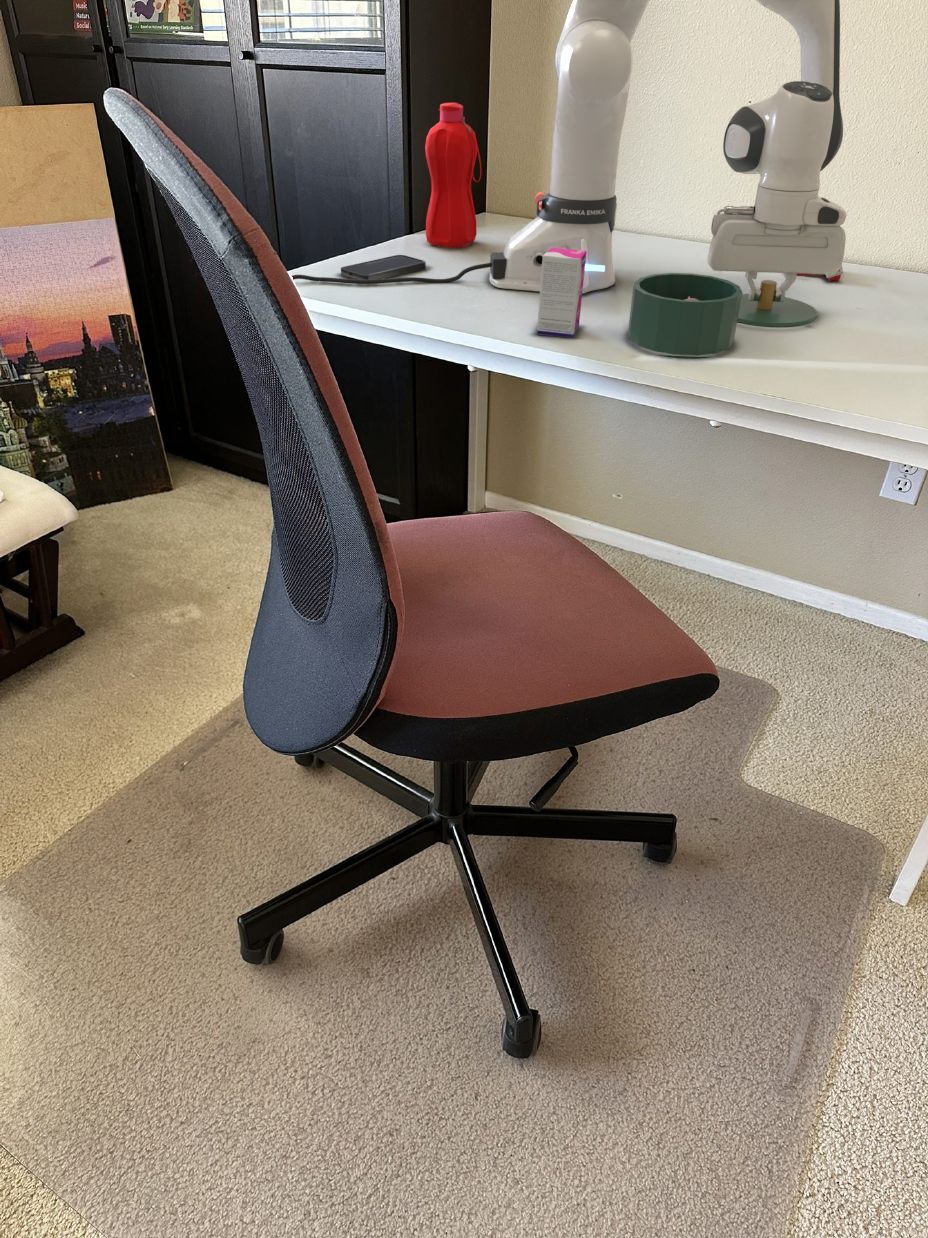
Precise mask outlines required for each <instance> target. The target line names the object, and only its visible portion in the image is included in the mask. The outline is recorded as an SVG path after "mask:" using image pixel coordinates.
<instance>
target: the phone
mask: <svg viewBox="0 0 928 1238" xmlns="http://www.w3.org/2000/svg"><path fill="white" fill-rule="evenodd" d="M426 263H427V261H426V260H424V259H420V258H417V257H412V256H409V255H405V254H396V255H390V256H386V257H382V258H376V259H373V260H368V261H363V262H359V263H355V264H350V265H345V266H344V265H343V266H341V267H340V275H341V276H343V277H346V278H348V279H357V280H374V279H389V278H393V277H396V276H400V275H404V274H409V273H413V272H417V271H421V270H426V268H427V264H426Z"/></svg>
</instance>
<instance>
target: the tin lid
mask: <svg viewBox="0 0 928 1238" xmlns="http://www.w3.org/2000/svg"><path fill="white" fill-rule="evenodd" d="M777 285H778V282H777V281H775V280H771V279H763V280H761V282H760V287H759V288H760V289H761V295H760V296H759V297H760V300H759V301H749V299H748V297H749V293H742V298H741V303H740V309H739V314H738V319H737V323H741V324H744V325H745V324H746V325H751V326H758V327H770V328H771V327H772V328H781V327H782V328H789V327H797V326H798V327H799V326H802V325H807V324H810V323H812V322H813V321H815V319H816V318H817V314H818V313H817V312H818V311H817V310H816V309H815V307H813V306H811V305H810V304H809V303H806V302H804V301H801V300H798V299H794V298H791V297H786V296H785V297H784V301H783V302H774V301H773V300H774V295H775V291H776V288H777Z"/></svg>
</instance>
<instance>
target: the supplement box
mask: <svg viewBox="0 0 928 1238" xmlns="http://www.w3.org/2000/svg"><path fill="white" fill-rule="evenodd" d="M586 253H587V252H586V251H582V250H570V249H560V248H550V249H549V250H548V251H547V252H546V253H545V254H544V255H543V260H542V273H541V286H540V291H539V299H538V300H539V301H538V314H537V325H536V335H537V336H538V335H539V336H547V337H548V336H549V337H558V338H559V337H560V338H568V339H569V338H570V339H572V338H573V337H574V335H575V334H576V331H577V330H578V329H579V327H580V320H581V310H582V299H583V294H582V291H583V282H584V272H585V262H586Z"/></svg>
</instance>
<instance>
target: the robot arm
mask: <svg viewBox="0 0 928 1238" xmlns="http://www.w3.org/2000/svg"><path fill="white" fill-rule="evenodd" d="M755 1H756V2H757V3H759V4H760V5H761V6H763V7H764V8H766V9H767V10H770V11H771V12H773V13H775V14H777V15H778V16H780V17H781V18H783V19H784V20H786V22H788V23H789V25H791V26H792V28H793V29H794V30H795V32H796V34H797V36H798V39H799V44H800V80H793V81H789V82H786V83H783V84H782V85H781V86H780V87H779V88H778V90H777V91H776V92H775V94H773V95H772V96H770V97H768V98H766V99H763V100H761V101H759V102H756V103H751V104H749V105H746V106H742V107H740V108H739V109H738V110H737V111H736V112H735V113H734V114H733V116H731V118H730V119H729V122H728V124H727V126H726V129H725V133H724V137H723V142H722V143H723V145H722V151H723V156H724V159H725V161H726V163H727V165H728V166H729V167H730V168H731V170H732V171H733V172H735V173H740V174H743V175H759V181H758V184H757V189H756V195H755V200H754V206H753V205H752V206H751V205H750V206H747V205H745V206H744V205H743V206H734V205H727V206H726V205H725V206H724V207H723V208H721V209H719V210H717V211H716V212H715V213H714V215H713V217H712V220H711V226H710V231H711V234H712V238H711V241H710V244H709V247H708V253H707V258H706V261H707V264H708V266H709V268H710V269H712V271H714V272H737V273H738V272H739V273H741V272H743V273H745V275H744V276H745V279H746V282H747V285H748V287H749V292H748V294H749V297H748V299H749V301H759V300H760V297H759V296H760V295H761V289H760V287H759V286H758V287H757V286H756V285H755V282H754V280H757V277H758V273H772V274H773V273H774V274H783V277H784V279H785V280H783V282H782V283H781V284H780V286H779V287H776V291H775V295H774V300H773V301H774V302H783V301H784V297H786V292H787V291H788V290H789V289H790V288H791V287H792V285H793V284H794V283H795V281H796V280H797V279H796V278H797V276H796V275H797V273H800V274H811V275H826V274H831V275H833V274H835V273H836V272H837V271H838V270H839V269H840V268H841V266H842V267H843V262H844V256H845V250H846V240H847V239H846V237H847V235H846V231H845V229H844V228H843V227H842V225H844V223H845V221H846V220H847V219H846V218H847V211H846V210H845V209H844V208H843V207H842V206H841V205H839V204H838V203H836V202H834V201H831V200H828V199H827V198H825V197H821V196H819V192H820V186H821V179H820V176H821V172H822V171H824V169H825V168H826V167H828V165H830V163H831V162H832V161H833V160H834V158H835V157H836V156H837V154H838V152H839V150H840V148H841V147H842V143H843V137H844V122H843V114H842V108H841V98H840V82H841V81H840V78H841V77H840V73H841V70H840V69H841V65H840V63H841V6H840V4H841V3H840V0H755ZM649 2H650V0H572V2H571V5H570V8H569V11H568V14H567V16H566V19H565V23H564V25H563V29H562V31H561V34H560V37H559V40H558V42H557V46H556V50H555V55H554V68H555V72H556V76H557V79H558V87H557V90H558V91H557V98H556V99H557V101H556V109H555V119H554V128H553V129H554V130H553V137H552V143H551V144H552V145H551V147H552V148H551V163H550V164H551V165H550V166H551V167H550V180H549V181H550V182H549V192H548V193H545V192H543V191H539V192H538V193H536V195H535V198H534V202H535V204H536V217H535V218H534V219H532V220H531V221H530V222H529V223H527V224H526V225H524V226H523V227H522V228H521V229H519V231H517V232H516V233H514V234H513V235H511V237H510V238H509V239H508V241H507V242H506V245H505V247H504V251H501V252H499V251H498V252H495V251H494V252H491V251H490V259H489V260H490V262H487V263H481V264H475V265H472V266H469V267H466V268H464V269H462V270H461V271H460V272H459V273H458V274H457V275H454V276H452V277H448V278H429V277H416V276H415V277H414V276H410V277H409V276H408V277H406V276H405V277H389V278H384V279H374V280H357V279H352V278H340V277H325V276H312V275H307V274H292V275H291V276H292V277H293V280H292V281H294V280H305V281H310V282H311V281H312V282H324V283H326V282H327V283H340V284H351V285H352V284H354V285H377V284H380V285H381V284H392V283H407V282H410V283H412V282H415V283H416V282H418V283H427V284H448V283H453V282H456V281H458V280H460V279H461V278H462V277H464V275H466V274H468V273H469V272H472V271H476V270H481V269H487V268H489V283H490V284H491V285H492V286H494V287H495V288H499V289H507V290H516V291H517V290H518V291H529V292H540V286H541V273H542V260H543V255H544V254H545V253H546V252H547V251H548V250H549V249H550V248H560V249H570V250H582V251H586V252H587V253H586V262H585V272H584V282H583V291H582V295H583V294H586V293H588V292H591V291H597V290H603V289H607V288H610V287H611V286H614V285H615V284H616V276H615V269H614V260H613V231H614V229H615V226H616V220H617V209H618V208H617V207H618V203H617V201H618V200H617V199H618V198H617V195H616V194H615V193H616V185H617V184H616V183H617V174H618V165H619V164H618V163H619V154H620V153H619V152H620V144H621V138H622V132H623V127H624V123H625V117H626V112H627V105H628V99H629V92H630V85H631V78H632V70H633V64H634V63H633V60H634V57H633V56H634V55H633V50H632V46H631V43H632V41H633V38H634V36H635V34H636V31H637V29H638V26H639V24H640V23H641V20H642V18H643V15H644V13H645V12H646V8H647V6H648V4H649ZM840 270H841V269H840Z"/></svg>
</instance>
